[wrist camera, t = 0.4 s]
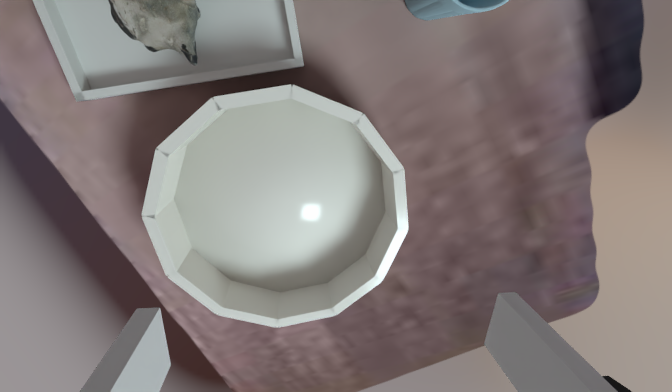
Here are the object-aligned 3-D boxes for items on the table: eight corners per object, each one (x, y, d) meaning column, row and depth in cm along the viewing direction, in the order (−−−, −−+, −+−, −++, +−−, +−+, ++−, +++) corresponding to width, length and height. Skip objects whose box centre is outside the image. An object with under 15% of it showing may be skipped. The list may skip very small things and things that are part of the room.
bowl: (133, 109, 32) (99, 115, 26) (380, 69, 34) (397, 67, 28) (208, 309, 42) (194, 344, 36) (398, 271, 43) (413, 299, 38)
